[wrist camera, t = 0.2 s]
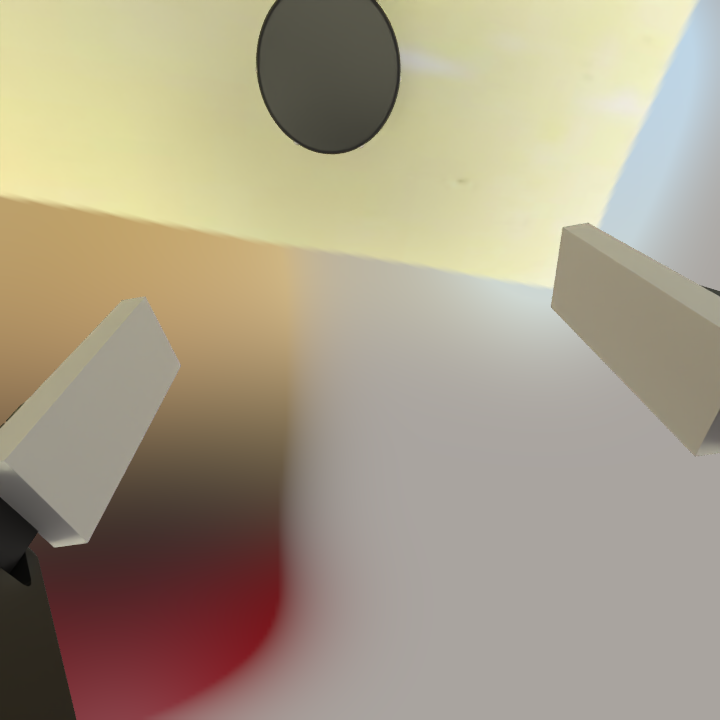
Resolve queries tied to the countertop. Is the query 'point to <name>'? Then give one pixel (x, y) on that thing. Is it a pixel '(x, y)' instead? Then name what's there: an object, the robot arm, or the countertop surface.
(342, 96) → the jar
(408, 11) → the countertop surface
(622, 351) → the robot arm
